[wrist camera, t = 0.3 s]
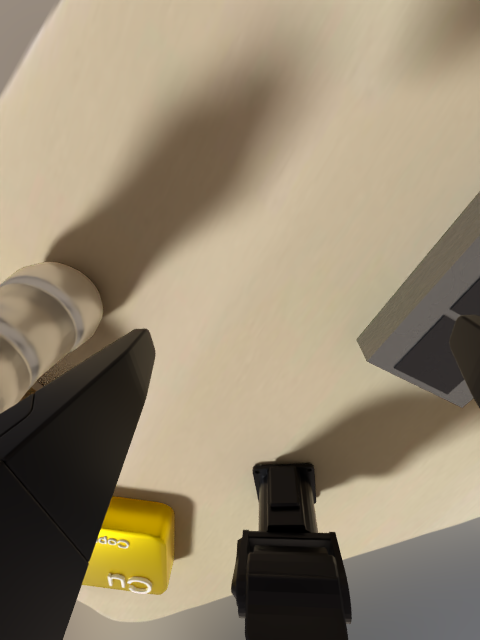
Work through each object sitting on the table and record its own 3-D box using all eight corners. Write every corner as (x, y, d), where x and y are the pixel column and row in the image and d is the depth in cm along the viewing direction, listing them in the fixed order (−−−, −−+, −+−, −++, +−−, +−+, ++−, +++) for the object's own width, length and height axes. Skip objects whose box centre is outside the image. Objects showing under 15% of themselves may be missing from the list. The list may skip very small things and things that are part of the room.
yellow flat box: (175, 500, 39) (164, 543, 35) (174, 560, 46) (165, 601, 42) (56, 485, 39) (31, 525, 35) (74, 547, 46) (55, 587, 42)
